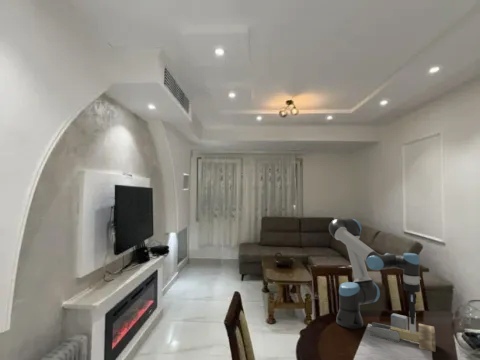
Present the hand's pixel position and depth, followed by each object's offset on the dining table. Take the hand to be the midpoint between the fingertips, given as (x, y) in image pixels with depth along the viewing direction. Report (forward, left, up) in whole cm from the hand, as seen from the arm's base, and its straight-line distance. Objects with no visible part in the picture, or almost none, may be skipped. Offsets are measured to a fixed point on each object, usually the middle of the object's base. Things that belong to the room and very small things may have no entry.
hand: (412, 327), depth 155 cm
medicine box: (-7, +12, -8) cm, 16 cm away
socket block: (+6, 0, -8) cm, 10 cm away
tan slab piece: (-1, 0, -7) cm, 7 cm away
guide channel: (-13, 0, -8) cm, 15 cm away
